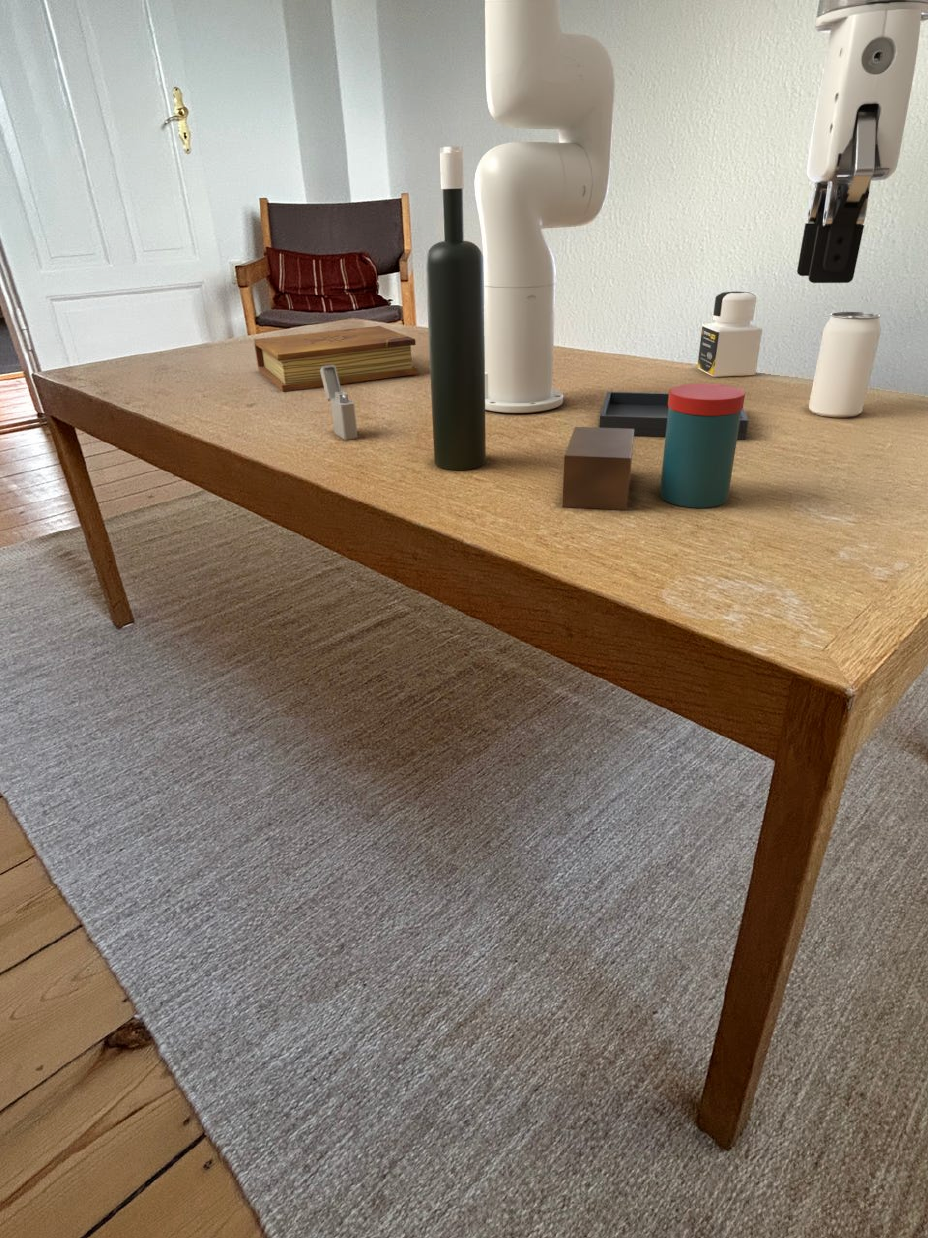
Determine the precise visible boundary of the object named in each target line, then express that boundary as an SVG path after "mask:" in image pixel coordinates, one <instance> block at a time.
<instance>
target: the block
mask: <svg viewBox="0 0 928 1238" xmlns="http://www.w3.org/2000/svg"><path fill="white" fill-rule="evenodd" d="M634 440H635V436H634V429H625V428H599V427H592V426H591V427H590V426H574V429H573V430H572V434H571V436H570V439H569V442H568V445H567V447H566V450H565V453H564V456H563V475H562V476H563V477H562V478H563V480H562V500H561V501H562V502H561V503H562V504H561V505H562V507H563V508H577V509H578V508H581V509H595V510H596V509H597V510H616V511H627V508H628V502H629V501H628V500H629V492H630V483H631V475H632V463H633V452H634V451H633V450H634Z"/></svg>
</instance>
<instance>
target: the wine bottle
mask: <svg viewBox="0 0 928 1238" xmlns="http://www.w3.org/2000/svg"><path fill="white" fill-rule="evenodd" d="M439 170H440V172H439V174H440V190H441V198H442V200H441V202H442V226H443V227H442V228H443V241H439V242H436V243H433V245H432V246H431V247H430V248H429V249H428V251H427V253H426V256H425V259H424V260H425V262H424V263H425V284H426V305H427V306H426V307H427V329H428V331H427V332H428V349H429V351H428V352H429V353H428V354H429V371H430V372H429V373H430V375H429V376H430V395H431V396H430V397H431V416H432V418H431V419H432V439H433V440H432V441H433V459H434V461H433V462H434V465H435V466H436V467H438V468H440V469H443V470H447V471H449V470H450V471H468V470H474V469H477V468H481V467H482V466H484V465H485V464H486V463H487V450H486V447H487V445H486V443H487V441H486V410H485V325H484V260H483V252H482V251H481V249H480V248H479V246H477V245H476V243H474V242H472V241H469V240H465V237H464V236H465V234H464V233H465V232H464V231H465V230H464V191H463V190H464V188H465V187H464V148H463V146H456V145H455V146H453V145H452V146H451V145H450V146H440V147H439Z"/></svg>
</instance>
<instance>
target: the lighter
mask: <svg viewBox="0 0 928 1238" xmlns="http://www.w3.org/2000/svg"><path fill="white" fill-rule="evenodd" d="M320 373H321V377H322V381H323V385H324V386H323V388H324V393H325V397H326V401H328V402H330V406H331V407H330V408H331V415H332V423H333V433H334V434H335V435H337V436H338V437H340V438H341V439H343V440H344V441H349V440H355V439H358V437H359V436H358V428H357V418H356V407H355V402H353V401H351V400H350V399H349V393H347V392H345V391H344V390H342V386H341V384H340V382H339V378H338V374H337V370H336V366H335V365H326V366H323V367H322V368H321V370H320Z"/></svg>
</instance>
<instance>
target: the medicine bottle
mask: <svg viewBox="0 0 928 1238" xmlns="http://www.w3.org/2000/svg"><path fill="white" fill-rule="evenodd" d="M756 303H757V296H756V295H755V294H753V293H751V292H748V291H736V290H735V291H723V292H720V293H718V294H717V295H716V296H715V299H714V307H713V314H712V320H713V321H714V322H707V323H703V324H702V326H701V333H700V341H699V349H698V358H697V364H696V365H697V367H696V368H697V369H698V370H699V371H701V372H703V373H705V374H706V375H708V376H710V377H712V378H719V377H721V378H722V377H745V376H755V375H756V372H757V367H758V360H759V354H760V349H761V348H760V347H761V342H762V335H763V328H762V327H760V326H757V325H753V324H751V323H752V322H753V321H754V316H755V310H756V309H755V308H756Z"/></svg>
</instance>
